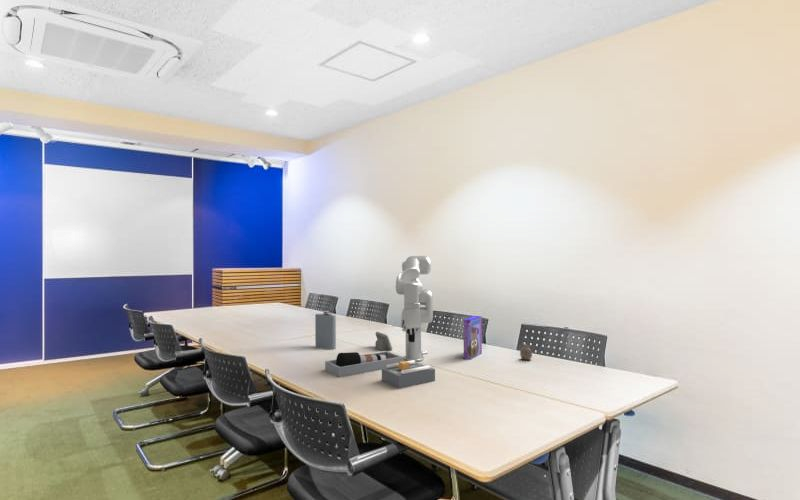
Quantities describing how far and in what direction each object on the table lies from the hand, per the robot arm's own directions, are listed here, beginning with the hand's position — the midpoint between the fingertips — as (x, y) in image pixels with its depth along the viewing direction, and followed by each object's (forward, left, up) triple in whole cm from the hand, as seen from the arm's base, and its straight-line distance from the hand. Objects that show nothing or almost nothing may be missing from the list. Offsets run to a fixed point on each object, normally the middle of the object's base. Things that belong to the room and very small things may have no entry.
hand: (411, 341), depth 231 cm
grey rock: (-26, -68, -20) cm, 75 cm away
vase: (-80, +7, -20) cm, 83 cm away
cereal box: (-60, -18, -20) cm, 66 cm away
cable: (+8, -33, -20) cm, 39 cm away
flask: (+5, -93, -20) cm, 95 cm away
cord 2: (+3, +7, -14) cm, 16 cm away
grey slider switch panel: (+3, +1, -20) cm, 20 cm away
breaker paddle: (+5, +1, -13) cm, 14 cm away
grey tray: (+9, -33, -20) cm, 39 cm away
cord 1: (+3, -6, -14) cm, 15 cm away
